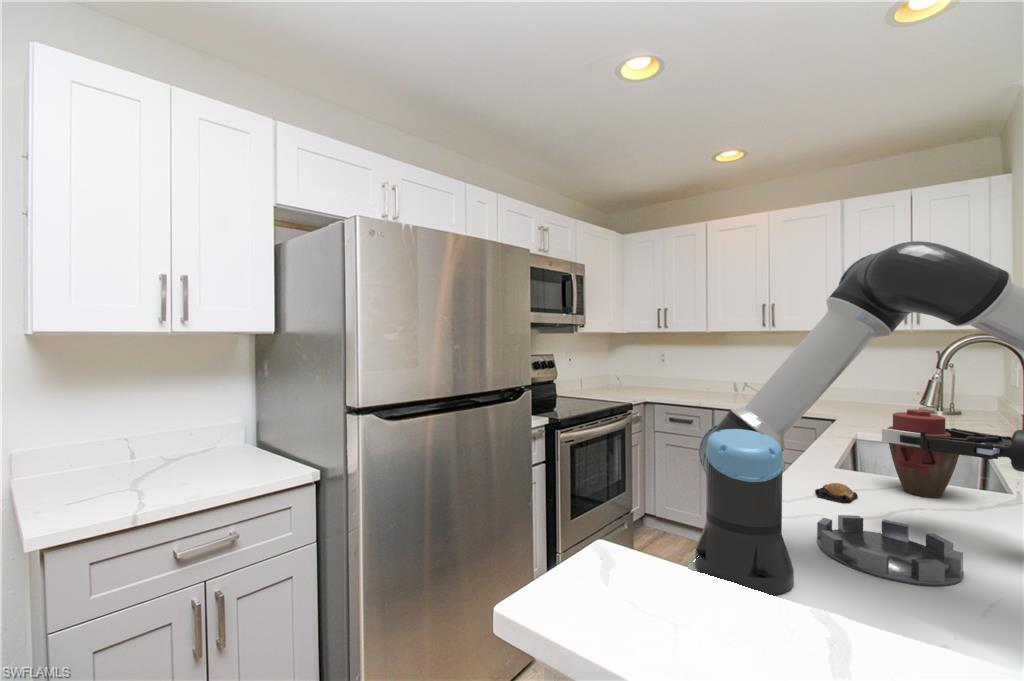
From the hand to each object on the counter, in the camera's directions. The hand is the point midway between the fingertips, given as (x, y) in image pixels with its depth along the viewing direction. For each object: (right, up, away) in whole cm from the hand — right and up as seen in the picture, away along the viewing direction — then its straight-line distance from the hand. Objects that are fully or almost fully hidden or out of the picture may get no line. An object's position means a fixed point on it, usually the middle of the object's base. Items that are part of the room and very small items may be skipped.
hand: (893, 432), depth 102 cm
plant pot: (+24, -20, +20) cm, 37 cm away
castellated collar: (-14, -20, -15) cm, 29 cm away
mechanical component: (+2, -7, -4) cm, 8 cm away
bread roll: (0, -21, +18) cm, 27 cm away
